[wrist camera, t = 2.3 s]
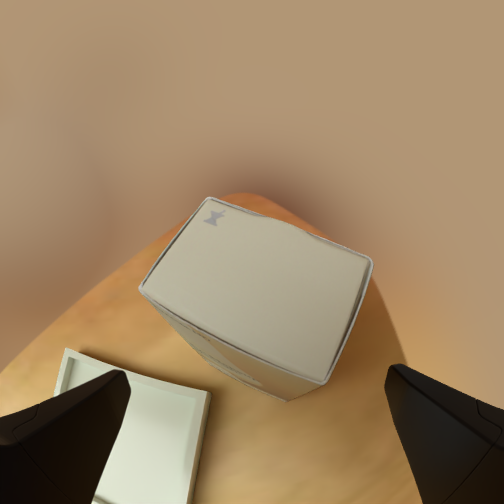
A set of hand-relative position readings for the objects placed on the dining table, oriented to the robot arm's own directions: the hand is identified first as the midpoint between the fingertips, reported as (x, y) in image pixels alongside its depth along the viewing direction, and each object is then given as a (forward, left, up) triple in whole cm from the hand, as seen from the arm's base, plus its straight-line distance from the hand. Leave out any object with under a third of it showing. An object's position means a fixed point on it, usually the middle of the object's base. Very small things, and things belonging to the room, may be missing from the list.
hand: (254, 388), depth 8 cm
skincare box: (+3, 0, -10) cm, 11 cm away
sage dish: (-6, +9, -10) cm, 15 cm away
